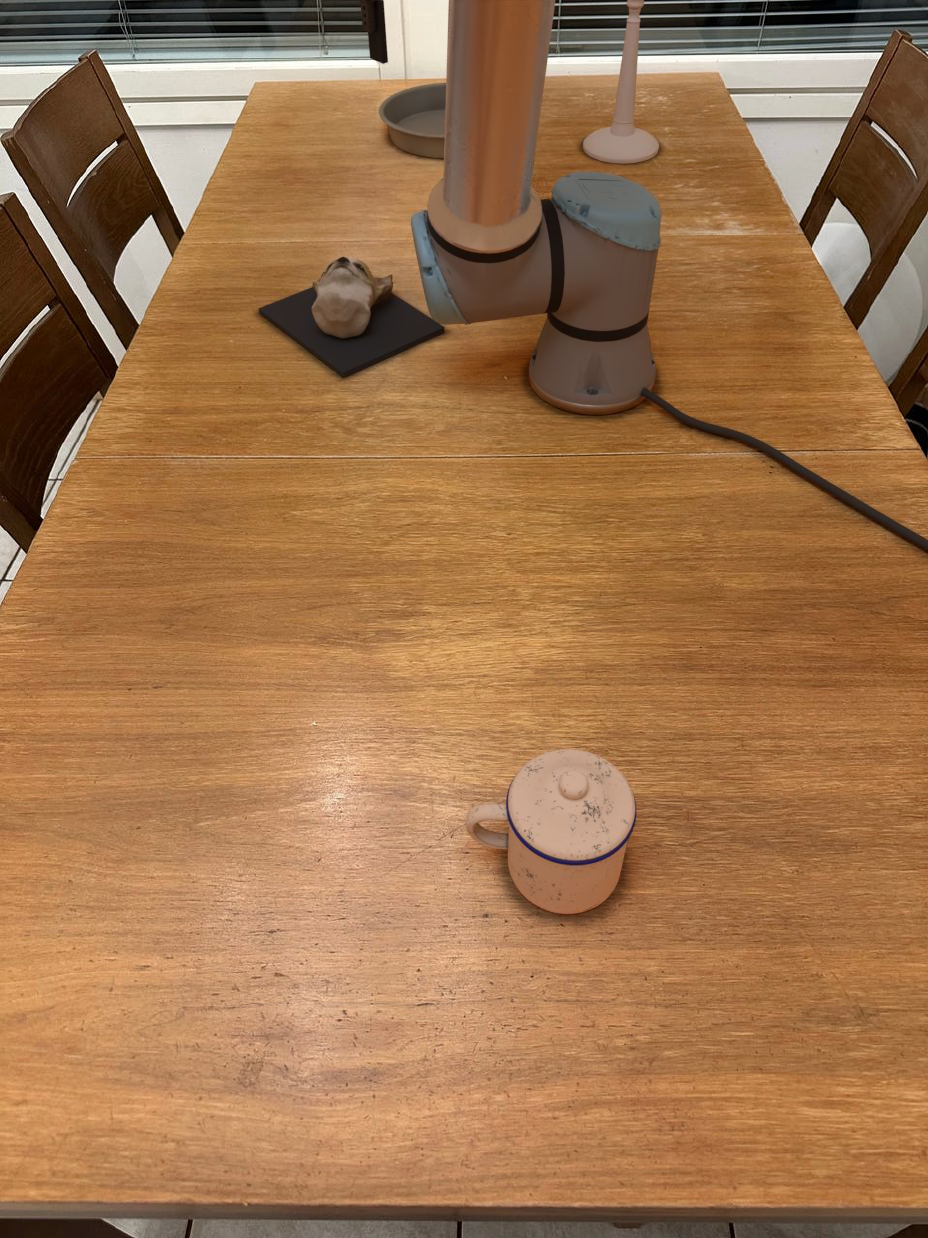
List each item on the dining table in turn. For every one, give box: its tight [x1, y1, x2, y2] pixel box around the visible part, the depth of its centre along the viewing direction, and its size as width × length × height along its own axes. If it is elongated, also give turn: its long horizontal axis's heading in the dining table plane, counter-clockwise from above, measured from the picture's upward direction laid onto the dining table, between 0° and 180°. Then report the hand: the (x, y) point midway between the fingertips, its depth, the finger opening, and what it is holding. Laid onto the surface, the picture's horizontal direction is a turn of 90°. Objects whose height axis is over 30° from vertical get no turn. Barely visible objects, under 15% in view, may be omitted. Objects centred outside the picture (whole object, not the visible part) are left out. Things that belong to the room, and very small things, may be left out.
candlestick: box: [582, 0, 660, 164], centre depth 150 cm, size 13×13×30 cm
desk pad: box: [258, 286, 445, 379], centre depth 125 cm, size 20×16×1 cm
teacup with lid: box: [465, 748, 637, 915], centre depth 68 cm, size 12×9×12 cm
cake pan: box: [378, 82, 446, 159], centre depth 165 cm, size 25×25×4 cm
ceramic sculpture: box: [311, 256, 394, 338], centre depth 121 cm, size 11×9×15 cm
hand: (423, 47), depth 118 cm, fingers open, 13 cm apart
